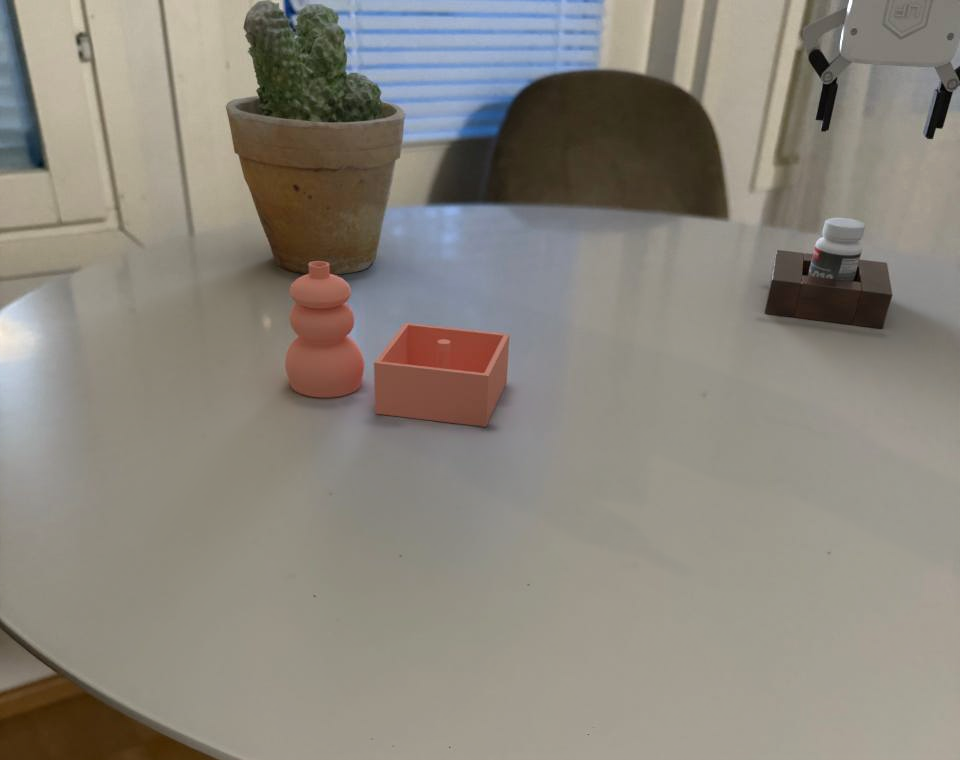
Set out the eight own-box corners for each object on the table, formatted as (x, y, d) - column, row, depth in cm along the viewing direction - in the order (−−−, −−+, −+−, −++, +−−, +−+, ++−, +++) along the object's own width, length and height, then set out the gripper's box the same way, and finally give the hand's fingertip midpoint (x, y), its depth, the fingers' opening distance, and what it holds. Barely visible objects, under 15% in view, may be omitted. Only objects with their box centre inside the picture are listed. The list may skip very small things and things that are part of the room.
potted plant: (262, 234, 116) (239, -13, 101) (414, 242, 116) (414, -5, 101) (224, 280, 102) (190, -1, 87) (398, 289, 102) (395, 9, 86)
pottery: (506, 381, 83) (513, 265, 77) (486, 426, 75) (492, 301, 69) (308, 359, 85) (300, 244, 79) (269, 400, 78) (257, 277, 72)
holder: (877, 294, 107) (887, 262, 105) (882, 329, 98) (892, 294, 96) (769, 281, 109) (776, 249, 107) (764, 313, 100) (771, 279, 98)
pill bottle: (792, 299, 104) (811, 218, 99) (824, 295, 106) (845, 214, 101) (822, 313, 101) (844, 230, 96) (855, 308, 103) (878, 226, 98)
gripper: (825, -91, 82) (782, 132, 92) (1044, -86, 78) (974, 146, 88) (825, -89, 88) (785, 121, 98) (1029, -85, 84) (965, 133, 94)
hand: (875, 133), depth 93 cm, fingers open, 9 cm apart
